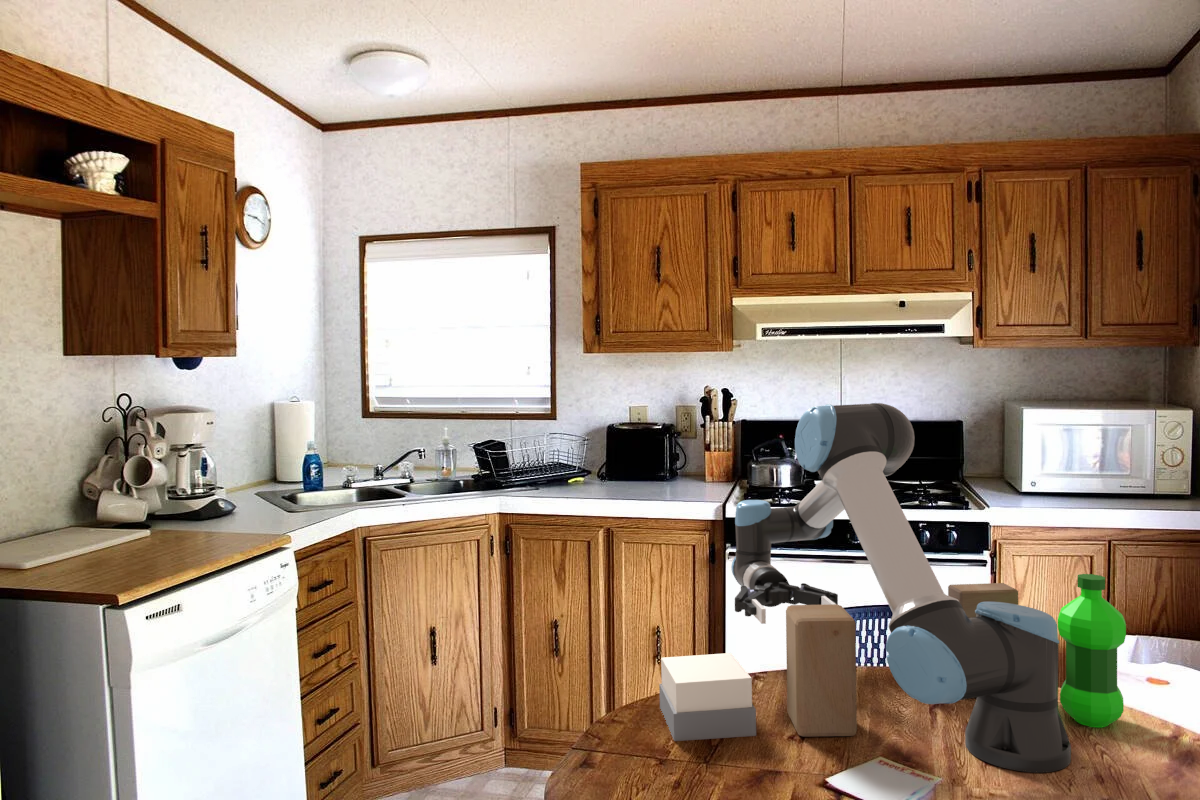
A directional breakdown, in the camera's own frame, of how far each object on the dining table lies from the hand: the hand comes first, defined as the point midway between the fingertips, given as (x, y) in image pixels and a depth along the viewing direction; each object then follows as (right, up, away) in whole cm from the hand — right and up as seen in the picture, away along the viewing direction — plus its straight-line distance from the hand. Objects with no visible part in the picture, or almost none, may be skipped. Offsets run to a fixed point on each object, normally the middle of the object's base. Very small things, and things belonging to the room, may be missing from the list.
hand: (800, 614), depth 158 cm
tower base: (-18, -18, -6) cm, 26 cm away
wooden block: (+1, -17, -9) cm, 20 cm away
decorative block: (+35, -16, +4) cm, 39 cm away
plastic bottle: (+48, -16, -10) cm, 51 cm away
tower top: (-18, -13, -6) cm, 23 cm away
